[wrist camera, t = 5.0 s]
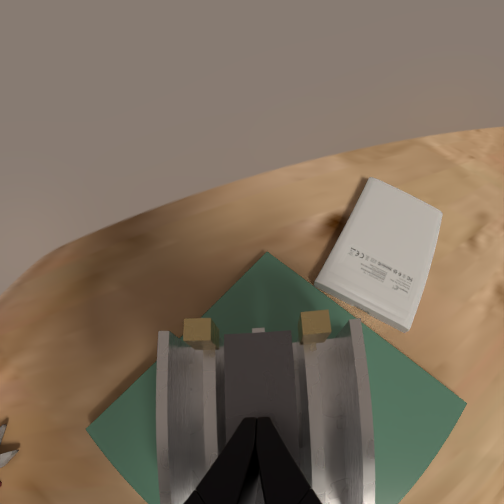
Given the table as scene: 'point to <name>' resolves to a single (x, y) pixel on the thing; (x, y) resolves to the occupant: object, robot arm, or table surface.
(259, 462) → the robot arm
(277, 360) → the dark metal plate
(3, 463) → the pliers
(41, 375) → the table surface
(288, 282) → the green square mat
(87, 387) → the table surface
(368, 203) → the external hard drive
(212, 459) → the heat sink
